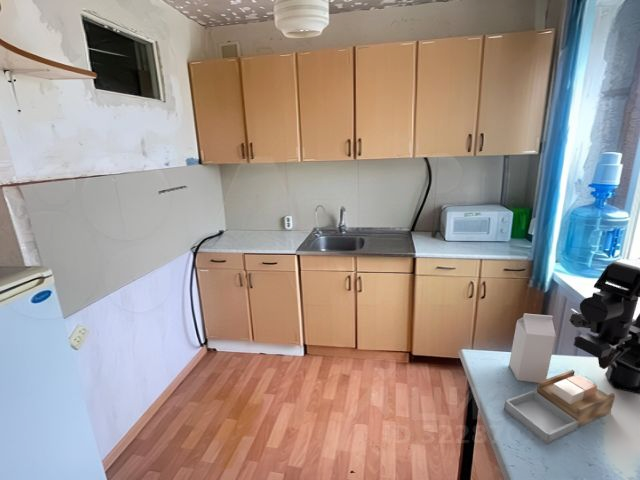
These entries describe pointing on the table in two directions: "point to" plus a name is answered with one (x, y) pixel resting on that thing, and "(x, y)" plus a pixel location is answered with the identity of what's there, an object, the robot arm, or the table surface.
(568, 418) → the tray
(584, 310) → the robot arm
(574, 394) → the tile
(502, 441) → the table surface
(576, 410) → the wooden box
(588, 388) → the tile
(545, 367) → the milk carton
